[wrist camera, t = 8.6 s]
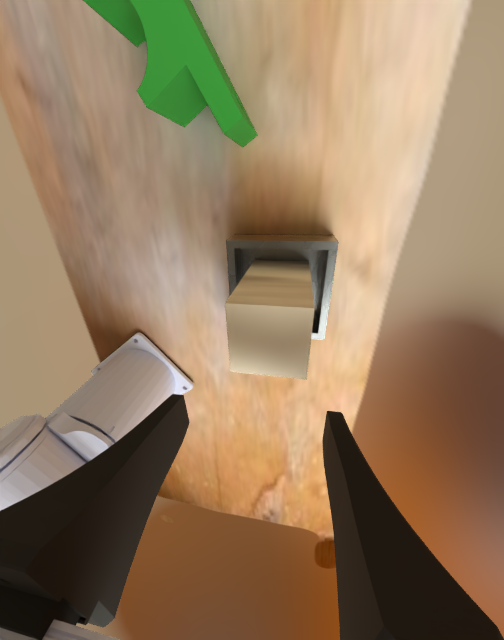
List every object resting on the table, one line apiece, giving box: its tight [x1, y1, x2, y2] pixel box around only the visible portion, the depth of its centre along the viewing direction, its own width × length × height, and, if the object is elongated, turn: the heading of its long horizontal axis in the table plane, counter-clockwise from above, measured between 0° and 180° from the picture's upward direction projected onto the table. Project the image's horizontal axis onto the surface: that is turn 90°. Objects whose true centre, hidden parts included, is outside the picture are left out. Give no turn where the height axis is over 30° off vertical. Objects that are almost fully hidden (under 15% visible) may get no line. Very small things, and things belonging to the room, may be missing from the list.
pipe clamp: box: [83, 0, 257, 147], centre depth 12 cm, size 11×4×5 cm, turn 32°
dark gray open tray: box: [226, 234, 338, 340], centre depth 18 cm, size 7×7×2 cm
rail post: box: [225, 260, 315, 380], centre depth 15 cm, size 4×4×8 cm
